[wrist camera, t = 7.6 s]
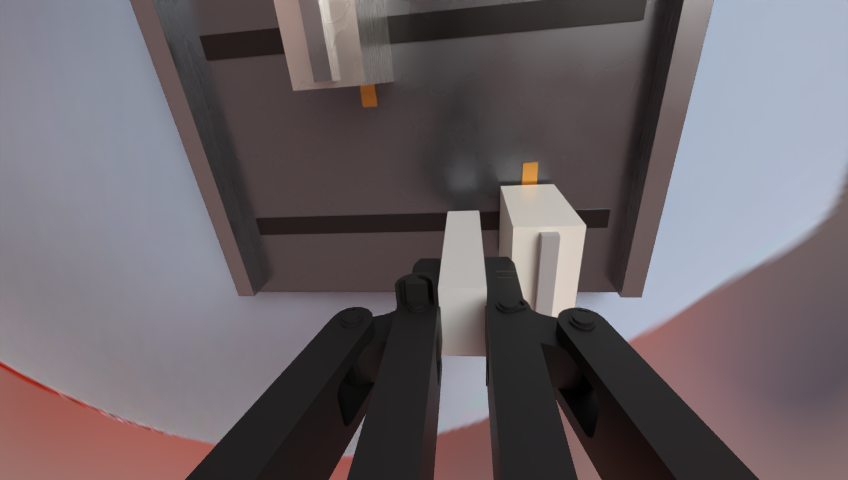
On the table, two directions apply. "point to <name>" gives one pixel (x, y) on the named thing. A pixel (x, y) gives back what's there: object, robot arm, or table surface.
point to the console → (422, 126)
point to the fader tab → (542, 245)
